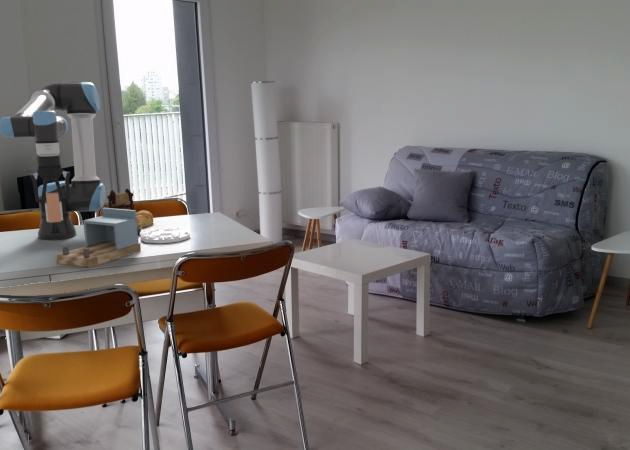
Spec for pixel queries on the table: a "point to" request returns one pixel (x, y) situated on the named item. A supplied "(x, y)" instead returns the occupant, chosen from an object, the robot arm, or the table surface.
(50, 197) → the peg
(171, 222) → the table surface
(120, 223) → the housing cover
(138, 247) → the housing base
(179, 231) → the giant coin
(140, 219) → the bread loaf
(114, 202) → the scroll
